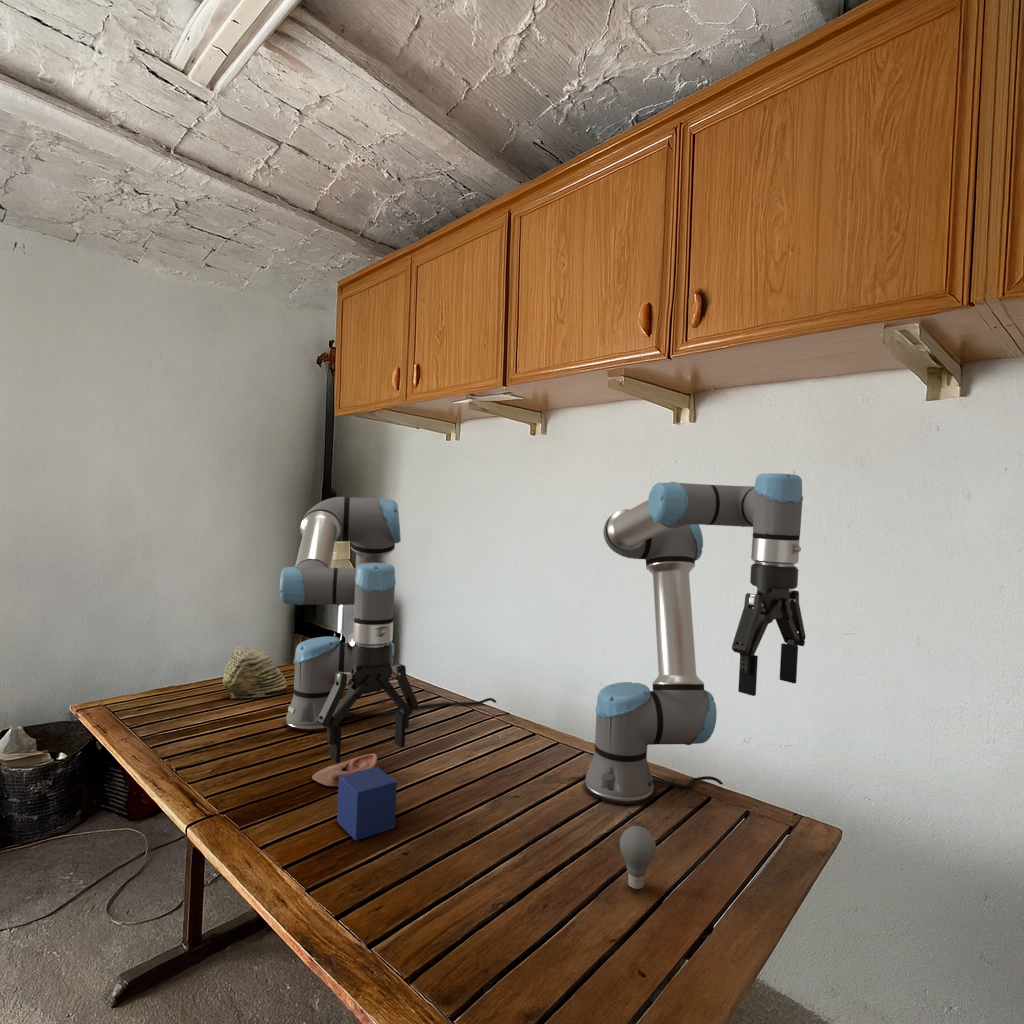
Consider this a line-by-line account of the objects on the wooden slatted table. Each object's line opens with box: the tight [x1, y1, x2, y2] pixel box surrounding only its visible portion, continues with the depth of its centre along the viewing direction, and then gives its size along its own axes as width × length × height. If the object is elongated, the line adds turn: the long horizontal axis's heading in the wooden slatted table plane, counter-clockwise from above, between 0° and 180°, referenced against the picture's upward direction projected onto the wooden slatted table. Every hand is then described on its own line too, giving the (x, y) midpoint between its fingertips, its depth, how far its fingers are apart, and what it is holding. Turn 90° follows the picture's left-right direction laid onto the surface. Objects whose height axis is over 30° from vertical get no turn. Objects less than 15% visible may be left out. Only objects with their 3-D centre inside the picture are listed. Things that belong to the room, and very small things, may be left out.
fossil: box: [222, 646, 288, 699], centre depth 198 cm, size 9×18×15 cm, turn 132°
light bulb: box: [619, 825, 657, 890], centre depth 107 cm, size 6×6×10 cm
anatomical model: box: [311, 753, 378, 788], centre depth 144 cm, size 13×4×12 cm
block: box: [336, 766, 398, 842], centre depth 123 cm, size 8×8×9 cm
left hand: (368, 752), depth 123 cm, fingers open, 13 cm apart
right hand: (768, 687), depth 109 cm, fingers open, 13 cm apart
